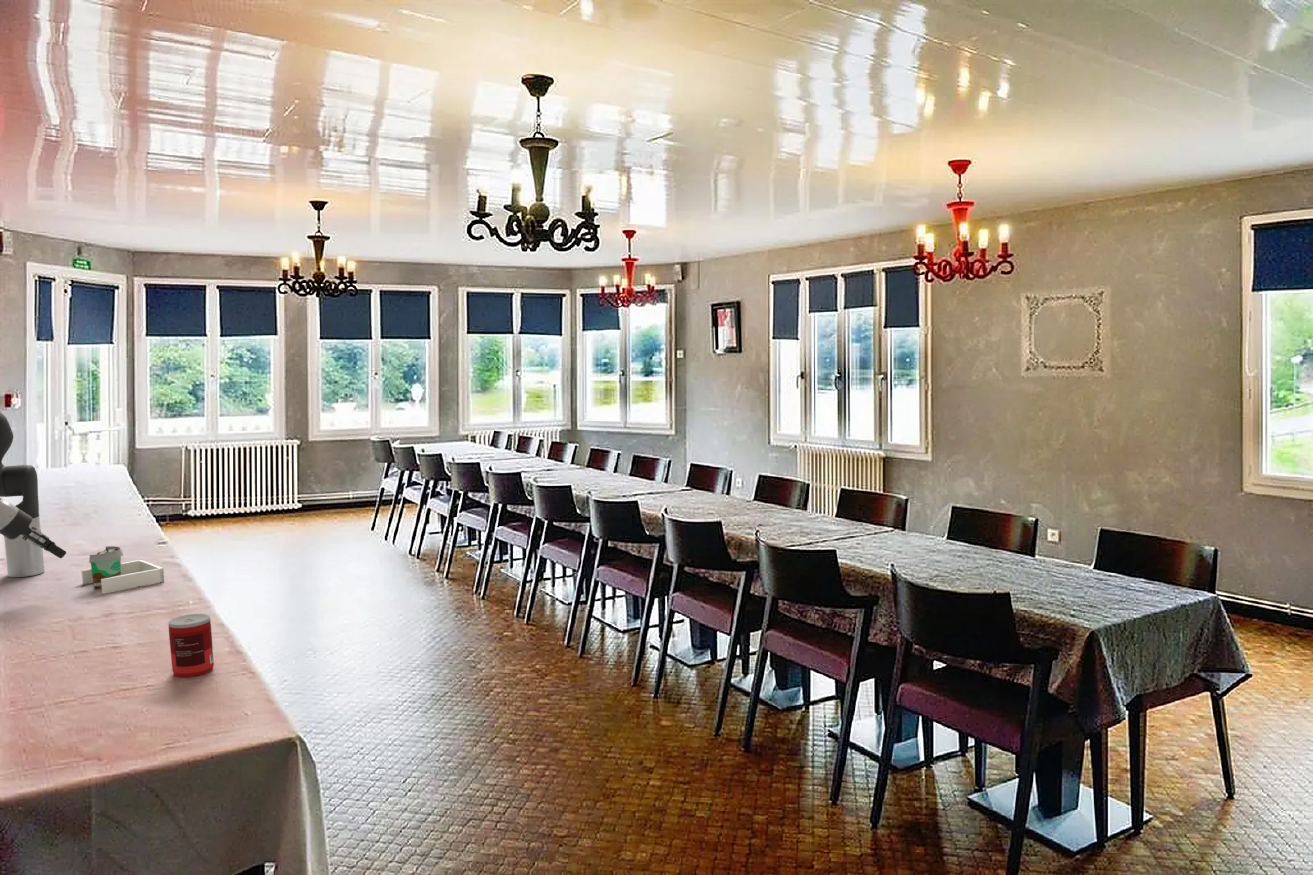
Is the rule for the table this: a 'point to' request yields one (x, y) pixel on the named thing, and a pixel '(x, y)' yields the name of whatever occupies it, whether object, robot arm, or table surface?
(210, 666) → the canned food
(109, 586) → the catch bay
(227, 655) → the table surface
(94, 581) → the food container
